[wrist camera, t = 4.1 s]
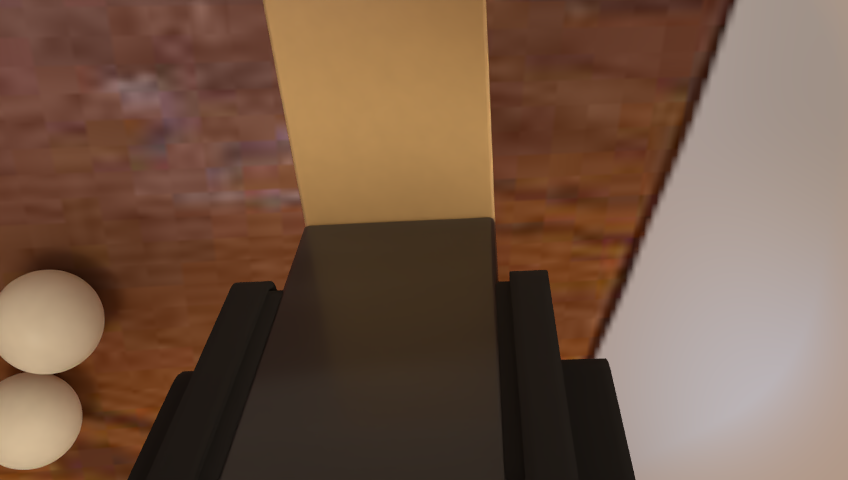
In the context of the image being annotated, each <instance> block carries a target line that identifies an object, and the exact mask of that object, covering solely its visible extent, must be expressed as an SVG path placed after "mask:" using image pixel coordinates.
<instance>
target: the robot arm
mask: <svg viewBox="0 0 848 480" xmlns="http://www.w3.org/2000/svg"><path fill="white" fill-rule="evenodd" d="M282 293H283V290H280V291H277V289H276V286H275V284H274V283H273V282H271V281H264V282H240V283H234V284H233V285H232V287H231V289H230V291H229V293H228V295H227V298H226V300H225V302H224V304H223V307H222V309H221V311H220V313H219V316H218V318H217V320H216V322H215V325H214V327H213V329H212V331H211V334H210V336H209V338H208V340H207V343H206V345H205V347H204V349H203V352H202V354H201V356H200V358H199V361H198V363H197V365H196V368H195V370H194V371H185V372H182V373H180V374H179V375H178V376H177V377H176V379H175V380H174V382H173V384H172V386H171V388H170V390H169V392H168V394H167V396H166V399H165V401H164V403H163V405H162V407H161V409H160V411H159V414H158V416H157V418H156V420H155V422H154V424H153V426H152V428H151V431H150V433H149V435H148V437H147V439H146V441H145V443H144V446H143V448H142V450H141V452H140V454H139V456H138V458H137V461H136V463H135V465H134V467H133V469H132V471H131V473H130V475H129V478H128V480H218V479H219V477H220V474H221V471H222V468H223V465H224V462H225V459H226V456H227V453H228V451H229V448H230V445H231V442H232V439H233V436H234V433H235V430H236V427H237V424H238V421H239V419H240V416H241V413H242V410H243V407H244V404H245V401H246V398H247V395H248V392H249V389H250V387H251V384H252V381H253V378H254V375H255V372H256V369H257V366H258V363H259V360H260V357H261V355H262V352H263V349H264V346H265V343H266V340H267V337H268V334H269V331H270V328H271V325H272V323H273V320H274V317H275V314H276V311H277V308H278V305H279V302H280V299H281V296H282ZM496 304H497V324H498V345H499V366H500V387H501V408H502V428H503V449H504V470H505V474H506V478H507V480H635V476H634V471H633V466H632V462H631V458H630V454H629V449H628V445H627V440H626V436H625V431H624V427H623V423H622V418H621V414H620V409H619V405H618V400H617V396H616V392H615V387H614V383H613V379H612V374H611V370H610V367H609V363H608V361H607V359H573V360H561V358H560V351H559V345H558V338H557V331H556V325H555V318H554V311H553V304H552V298H551V291H550V284H549V278H548V272H547V270H534V271H510V281H507V282H497V284H496Z"/></svg>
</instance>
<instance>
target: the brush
mask: <svg viewBox="0 0 848 480" xmlns="http://www.w3.org/2000/svg"><path fill="white" fill-rule="evenodd" d="M263 6H264V11H265V16H266V21H267V27H268V32H269V37H270V42H271V48H272V53H273V58H274V63H275V69H276V74H277V79H278V84H279V90H280V95H281V100H282V105H283V111H284V116H285V121H286V126H287V132H288V137H289V142H290V147H291V153H292V158H293V163H294V168H295V174H296V179H297V184H298V189H299V195H300V200H301V205H302V210H303V216H304V221H305V226H306V227H305V229H304V232H303V235H302V237H301V240H300V243H299V246H298V249H297V252H296V255H295V258H294V261H293V263H292V266H291V269H290V272H289V275H288V278H287V281H286V284H285V286H284V289H283V293H282V296H281V299H280V302H279V305H278V308H277V311H276V314H275V317H274V320H273V323H272V325H271V328H270V331H269V334H268V337H267V340H266V343H265V346H264V349H263V352H262V355H261V357H260V360H259V363H258V366H257V369H256V372H255V375H254V378H253V381H252V384H251V387H250V389H249V392H248V395H247V398H246V401H245V404H244V407H243V410H242V413H241V416H240V419H239V421H238V424H237V427H236V430H235V433H234V436H233V439H232V442H231V445H230V448H229V451H228V453H227V456H226V459H225V462H224V465H223V468H222V471H221V474H220V477H219V479H218V480H507V478H506V474H505V470H504V449H503V428H502V408H501V387H500V366H499V345H498V324H497V304H496V284H497V282H498V265H497V247H496V228H495V207H494V182H493V158H492V133H491V109H490V84H489V60H488V35H487V11H486V0H263Z"/></svg>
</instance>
